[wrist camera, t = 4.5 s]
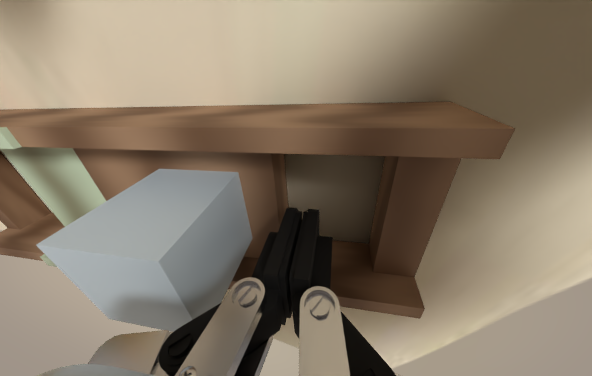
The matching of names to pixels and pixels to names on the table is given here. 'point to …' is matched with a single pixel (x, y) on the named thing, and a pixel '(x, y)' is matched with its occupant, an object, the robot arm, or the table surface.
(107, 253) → the block
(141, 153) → the box
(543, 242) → the table surface
